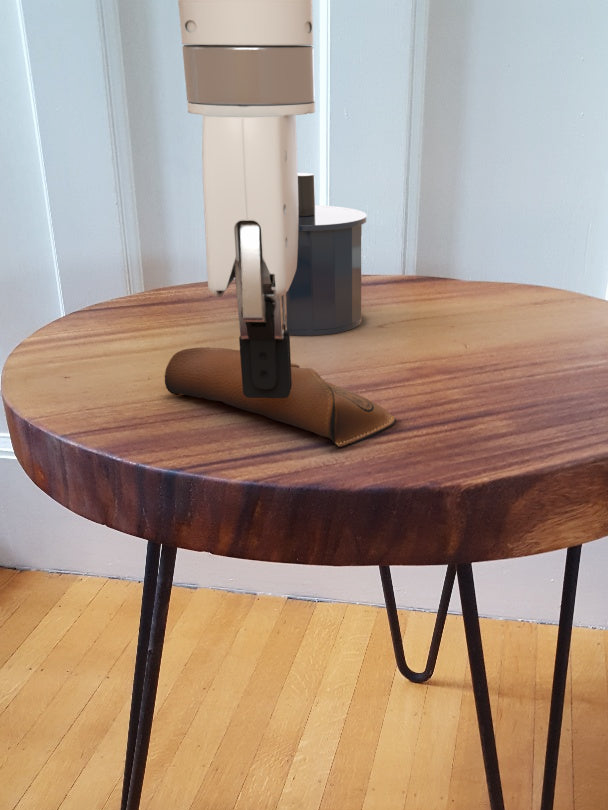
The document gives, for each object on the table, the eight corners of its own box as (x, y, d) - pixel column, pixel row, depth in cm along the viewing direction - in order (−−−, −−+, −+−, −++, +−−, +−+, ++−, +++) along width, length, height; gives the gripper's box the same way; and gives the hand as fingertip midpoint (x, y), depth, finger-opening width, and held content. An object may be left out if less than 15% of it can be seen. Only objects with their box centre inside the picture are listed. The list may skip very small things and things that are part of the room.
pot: (299, 342, 91) (296, 235, 86) (227, 319, 98) (220, 219, 93) (384, 321, 98) (385, 221, 93) (311, 302, 105) (308, 207, 100)
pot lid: (295, 243, 86) (294, 186, 83) (213, 225, 93) (209, 173, 91) (393, 227, 93) (394, 175, 91) (309, 212, 100) (308, 163, 98)
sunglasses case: (405, 415, 73) (377, 347, 67) (354, 483, 71) (321, 419, 65) (239, 369, 82) (203, 307, 77) (190, 429, 80) (150, 369, 75)
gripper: (206, 78, 62) (229, 362, 72) (160, 90, 50) (195, 431, 60) (322, 79, 62) (328, 363, 72) (304, 91, 50) (314, 432, 60)
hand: (267, 393), depth 66 cm, fingers closed
